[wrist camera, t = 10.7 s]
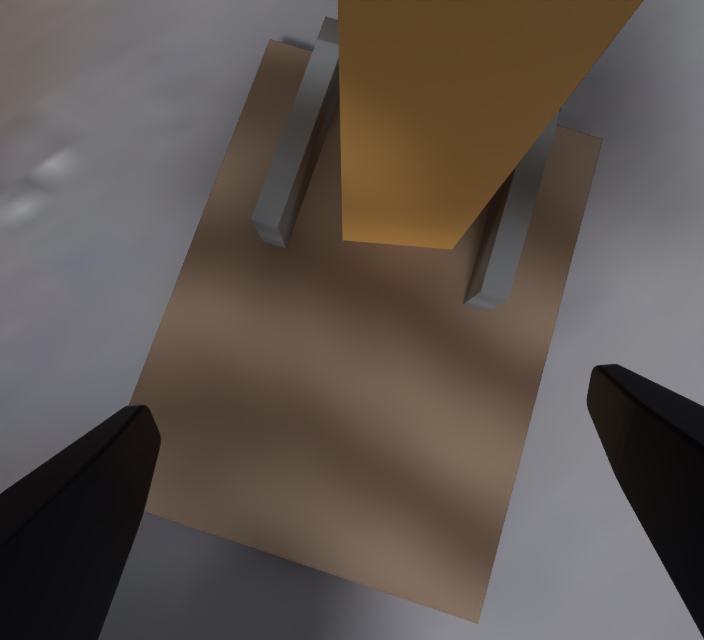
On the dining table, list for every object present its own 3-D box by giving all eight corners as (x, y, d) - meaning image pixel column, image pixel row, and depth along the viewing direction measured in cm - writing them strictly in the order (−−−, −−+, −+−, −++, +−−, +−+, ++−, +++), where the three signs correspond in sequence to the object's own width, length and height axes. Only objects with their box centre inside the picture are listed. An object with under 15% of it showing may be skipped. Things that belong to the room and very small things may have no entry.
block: (452, 249, 19) (673, -40, 6) (342, 240, 19) (336, -68, 6) (457, 147, 20) (668, -307, 7) (351, 138, 20) (363, -333, 7)
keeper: (469, 608, 18) (500, 663, 15) (110, 487, 19) (52, 511, 15) (588, 153, 21) (639, 103, 17) (274, 58, 22) (259, -10, 18)
